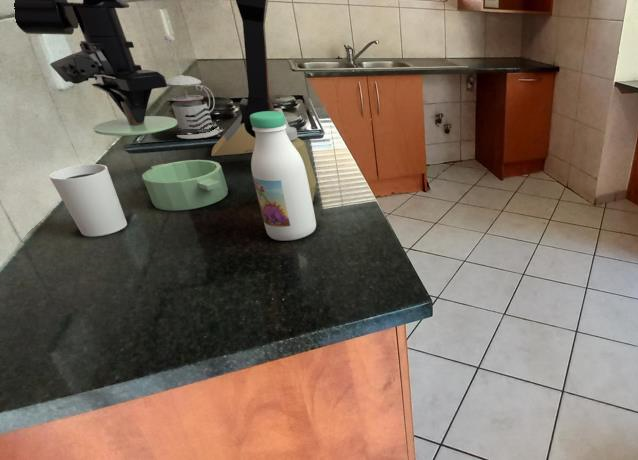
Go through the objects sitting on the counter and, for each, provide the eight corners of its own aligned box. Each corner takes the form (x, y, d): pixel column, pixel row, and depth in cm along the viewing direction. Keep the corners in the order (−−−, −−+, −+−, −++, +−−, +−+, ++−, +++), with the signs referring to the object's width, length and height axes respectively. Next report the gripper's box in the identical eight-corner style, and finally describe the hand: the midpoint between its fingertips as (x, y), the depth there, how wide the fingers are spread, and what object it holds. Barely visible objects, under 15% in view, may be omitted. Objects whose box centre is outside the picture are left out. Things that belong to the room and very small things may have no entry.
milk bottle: (306, 216, 78) (284, 106, 68) (324, 232, 73) (303, 115, 64) (260, 229, 73) (229, 111, 63) (276, 247, 68) (246, 123, 59)
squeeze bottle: (302, 213, 79) (282, 116, 70) (264, 207, 80) (240, 111, 71) (328, 196, 86) (312, 106, 77) (292, 191, 87) (273, 102, 78)
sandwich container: (213, 146, 109) (195, 85, 102) (279, 140, 116) (267, 83, 109) (210, 156, 103) (191, 92, 95) (281, 150, 109) (268, 89, 102)
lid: (155, 118, 93) (146, 91, 90) (192, 127, 88) (184, 100, 85) (81, 131, 82) (68, 101, 79) (119, 142, 77) (106, 111, 75)
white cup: (139, 218, 74) (117, 164, 69) (113, 237, 68) (87, 179, 64) (96, 219, 73) (71, 164, 68) (66, 238, 67) (36, 179, 63)
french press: (167, 135, 115) (133, 34, 103) (207, 125, 125) (180, 32, 113) (195, 140, 112) (163, 37, 101) (233, 130, 122) (208, 35, 110)
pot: (195, 178, 91) (187, 153, 88) (250, 196, 84) (243, 170, 82) (130, 198, 81) (119, 170, 78) (187, 219, 75) (176, 190, 72)
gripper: (19, 32, 74) (60, 122, 81) (75, 42, 67) (114, 138, 74) (97, 31, 83) (127, 111, 90) (153, 38, 76) (181, 125, 83)
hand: (136, 121), depth 84 cm, fingers closed on lid, 2 cm apart
